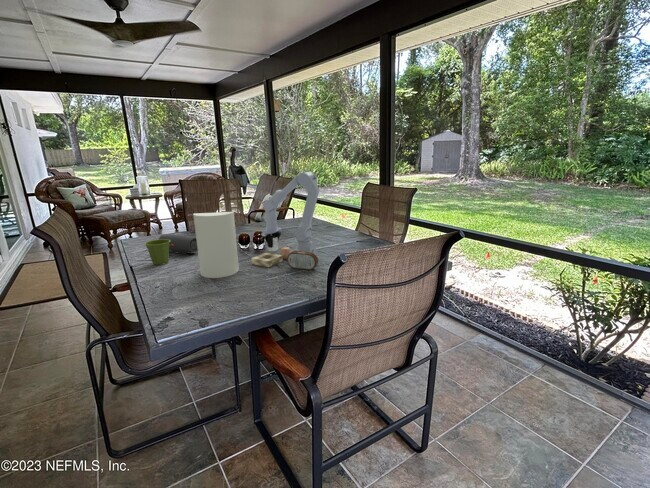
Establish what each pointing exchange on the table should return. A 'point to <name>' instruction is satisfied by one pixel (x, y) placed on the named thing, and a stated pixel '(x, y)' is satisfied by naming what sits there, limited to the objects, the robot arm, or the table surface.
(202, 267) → the cylinder
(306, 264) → the tin
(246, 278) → the table surface
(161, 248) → the plant pot
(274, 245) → the square peg
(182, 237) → the bluetooth speaker
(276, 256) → the bore block
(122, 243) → the table surface
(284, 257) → the round peg
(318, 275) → the table surface
